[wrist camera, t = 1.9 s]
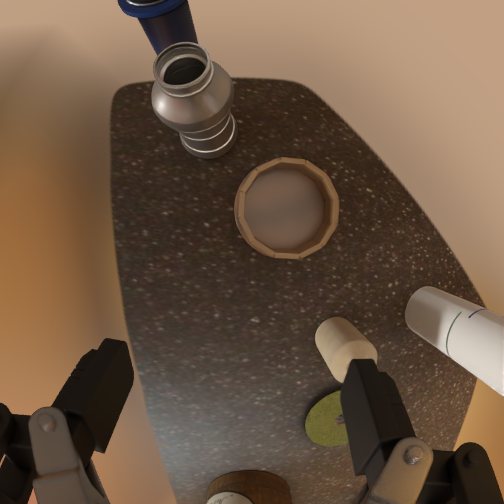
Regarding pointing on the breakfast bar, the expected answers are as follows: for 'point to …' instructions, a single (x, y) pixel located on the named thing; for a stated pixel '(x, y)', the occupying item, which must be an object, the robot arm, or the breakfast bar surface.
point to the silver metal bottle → (195, 99)
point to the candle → (342, 345)
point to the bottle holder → (286, 208)
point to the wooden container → (249, 489)
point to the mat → (327, 422)
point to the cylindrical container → (460, 332)
